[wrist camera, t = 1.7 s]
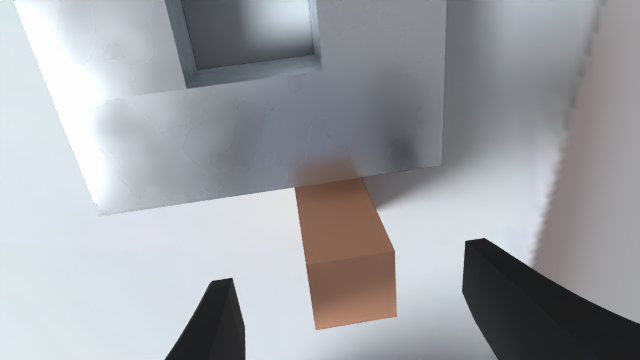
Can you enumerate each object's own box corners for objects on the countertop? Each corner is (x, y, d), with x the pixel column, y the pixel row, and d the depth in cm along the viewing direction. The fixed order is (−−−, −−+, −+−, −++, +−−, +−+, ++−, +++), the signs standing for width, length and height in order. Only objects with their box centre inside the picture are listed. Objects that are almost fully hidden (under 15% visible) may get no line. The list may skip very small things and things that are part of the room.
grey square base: (419, 139, 18) (458, 184, 14) (120, 182, 17) (83, 241, 14) (420, -258, 12) (485, -343, 9) (-23, -217, 12) (-148, -292, 8)
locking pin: (359, 217, 19) (396, 316, 14) (300, 225, 19) (315, 330, 14) (355, 163, 18) (394, 250, 13) (292, 173, 18) (306, 264, 13)
